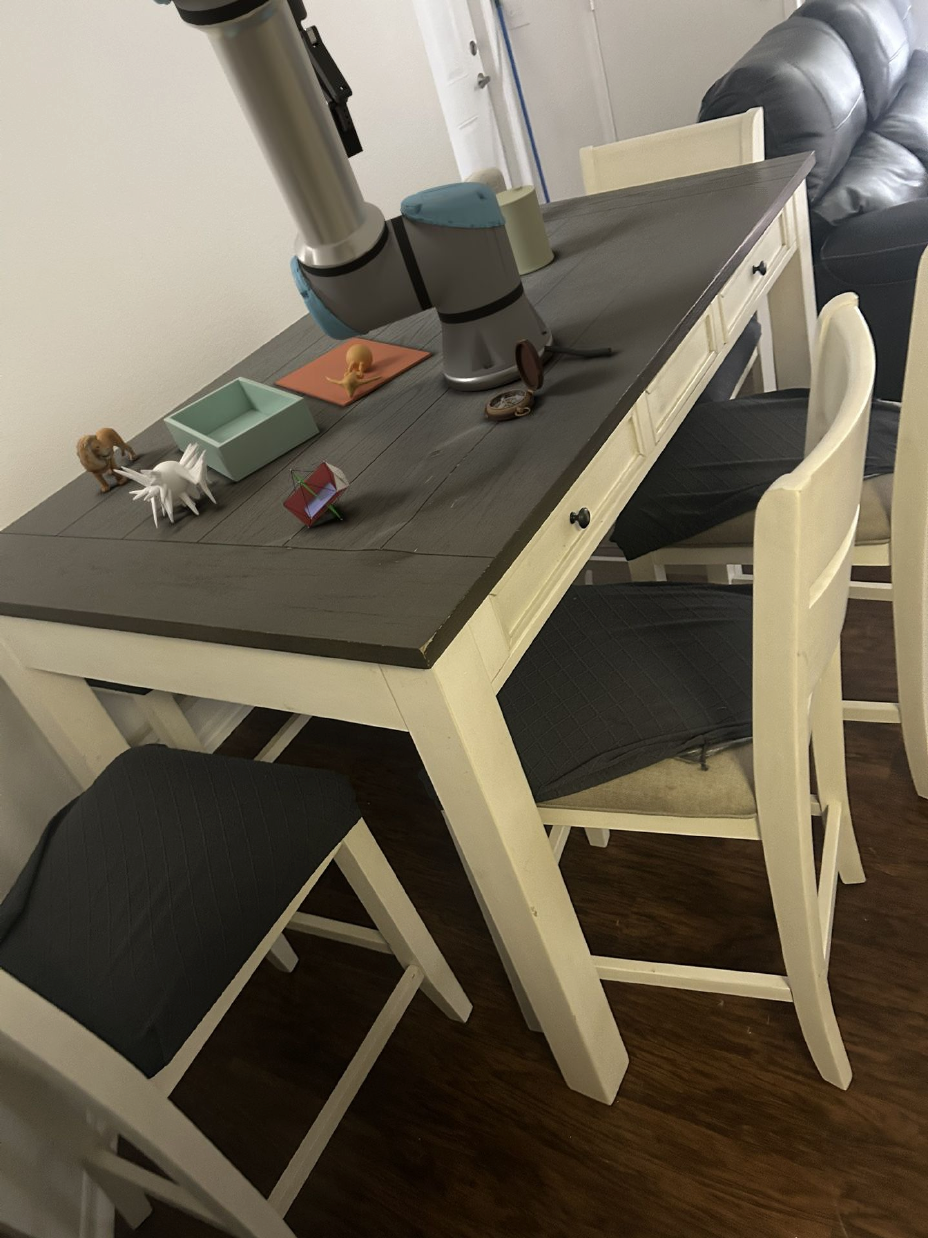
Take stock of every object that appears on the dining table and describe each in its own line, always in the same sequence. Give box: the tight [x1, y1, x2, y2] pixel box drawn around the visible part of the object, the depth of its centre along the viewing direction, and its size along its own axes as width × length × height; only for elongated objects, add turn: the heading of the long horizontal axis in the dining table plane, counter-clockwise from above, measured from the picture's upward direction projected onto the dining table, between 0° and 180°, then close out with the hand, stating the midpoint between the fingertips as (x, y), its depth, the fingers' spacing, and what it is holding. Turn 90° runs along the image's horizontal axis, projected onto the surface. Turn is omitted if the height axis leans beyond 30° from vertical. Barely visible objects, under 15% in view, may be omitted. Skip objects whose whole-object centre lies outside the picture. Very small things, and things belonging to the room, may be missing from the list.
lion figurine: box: [75, 427, 138, 493], centre depth 137 cm, size 15×5×9 cm, turn 13°
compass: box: [484, 339, 545, 421], centre depth 110 cm, size 8×8×7 cm
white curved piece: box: [462, 166, 508, 195], centre depth 174 cm, size 10×4×12 cm, turn 134°
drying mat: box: [275, 337, 432, 408], centre depth 144 cm, size 24×16×1 cm, turn 36°
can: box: [496, 184, 555, 276], centre depth 154 cm, size 9×9×12 cm
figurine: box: [326, 344, 383, 398], centre depth 136 cm, size 8×6×12 cm
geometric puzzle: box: [281, 460, 351, 529], centre depth 104 cm, size 7×7×8 cm
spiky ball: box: [114, 443, 218, 529], centre depth 118 cm, size 11×12×8 cm
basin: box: [163, 376, 320, 483], centre depth 133 cm, size 23×14×5 cm, turn 36°
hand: (332, 157), depth 139 cm, fingers open, 13 cm apart
